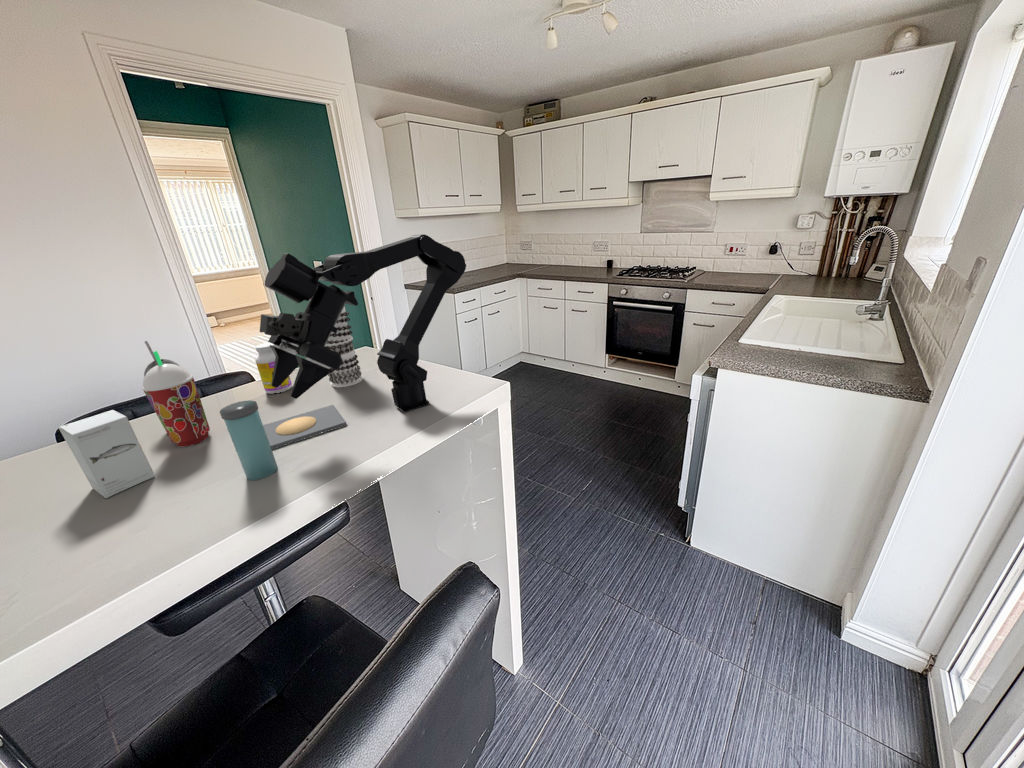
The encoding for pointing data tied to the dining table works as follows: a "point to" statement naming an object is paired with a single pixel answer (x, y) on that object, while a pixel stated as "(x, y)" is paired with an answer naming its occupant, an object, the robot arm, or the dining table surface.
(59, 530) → the dining table surface
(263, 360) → the supplement bottle
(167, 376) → the smoothie
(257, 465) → the teal capped cylinder
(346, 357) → the decorative candle
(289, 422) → the mat
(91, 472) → the supplement box
